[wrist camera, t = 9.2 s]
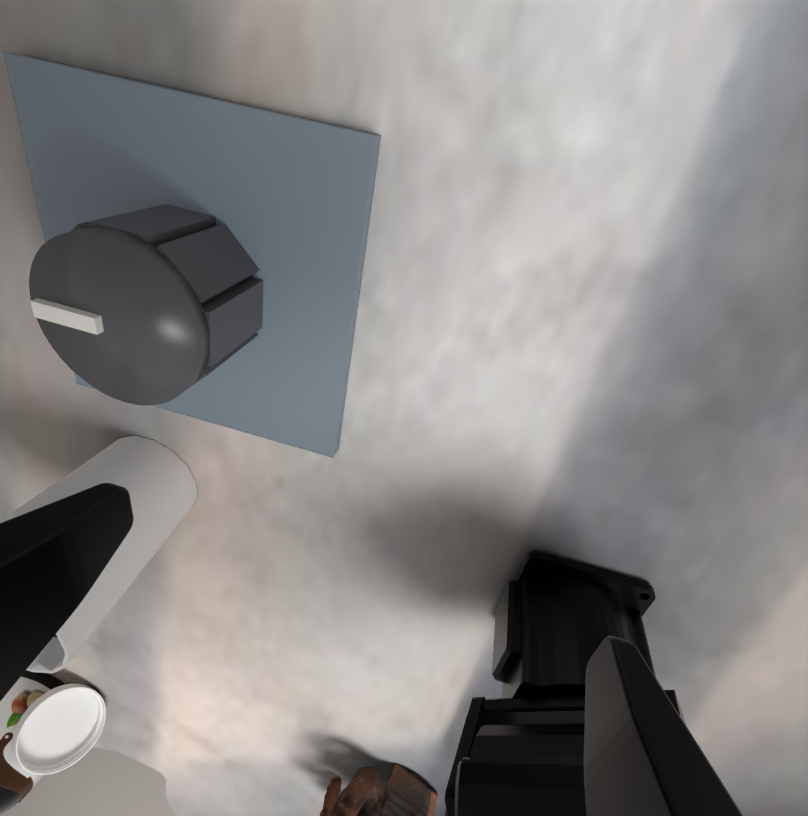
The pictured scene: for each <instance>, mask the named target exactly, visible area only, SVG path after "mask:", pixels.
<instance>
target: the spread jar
mask: <svg viewBox="0 0 808 816" xmlns="http://www.w3.org/2000/svg"><path fill="white" fill-rule="evenodd" d="M105 719H106V706H105V703H104V700H103V698H102V697H101V695H100V694H99V693H97V692H96V691H95V690H94V689H92V688H91V687H89V686H87V685H85V684H79V683H70V684H65V685H64V684H63V683H62V682H60V681H59V680H58V679H56V678H54V677H53V676H51V675H49V674H47V673H38V672H31V671H28V670H26V671H25V672H24V673H23V675H22V676H21V677H20V678H19V679H18V681H17V682H16V683H15V684H14V685H13V687H12V688H11V689H10V690H9V692H8V693H7V694H6V695H5V696H4V698H3V699H2V700H1V701H0V814H2V813H3V812H5V811H7V810H9V809H10V808H11V807H13V806H14V805H16V804H17V803H19V802H20V801H21V800H22V799H23V798H24V797H25V796H26V795H27V794H28V793H29V792H30V790H31V789H32V788H33V787H34V786H35V784H36V783H37V782H38V781H39V779H40V778H41V777H42V776H43V775H47V774H53V773H56V772H59V771H62V770H64V769H66V768H68V767H70V766H72V765H73V764H74V763H76V762H77V761H79V760H80V759H81V758H82V757H83V756H84V755H86V754H87V752H88V751H89V750H90V749H91V748H92V747H93V745H94V744H95V742H96V741H97V740H98V738H99V736H100V734H101V732H102V730H103V727H104V724H105Z"/></svg>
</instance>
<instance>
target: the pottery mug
mask: <svg viewBox="0 0 808 816" xmlns="http://www.w3.org/2000/svg"><path fill="white" fill-rule="evenodd" d="M341 783H342V781H341V778H333V779H332V780H331V782H330V784H329V786H328V787H327V792H326V795H325V799H324V805H323V810H322V811H321V813H320V816H434V812H435V806H436V800H437V797H438V795H437V793H435V792H434V791H432V790H430V789H429V788H427V787H426V786H425V784H424V783H423V782H422V781H420V780H419V779H418V778H417V777H415V776H414V775H412V774H411V773H410V772H408V771H407V770H406V769H404V768H403V767H401V766H400V765H399V764H395V765H394V767H393V770H392V773H391V776H390V777H389V778H388V780H387V783H386V785H385V787H383V782H382V779H381V776H380V774H379V772H378V771H377V769H376V768H373V767H363V768H360V769H359V770H358V771H357V773H356V775H355V776H354V777H353V780H352V782H350V783H349V784H348V785H347V787H346V788H345V789H344V790H343V791H342V793H341V794H340V796H339V792H340V787H341ZM338 796H339V797H338Z"/></svg>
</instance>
